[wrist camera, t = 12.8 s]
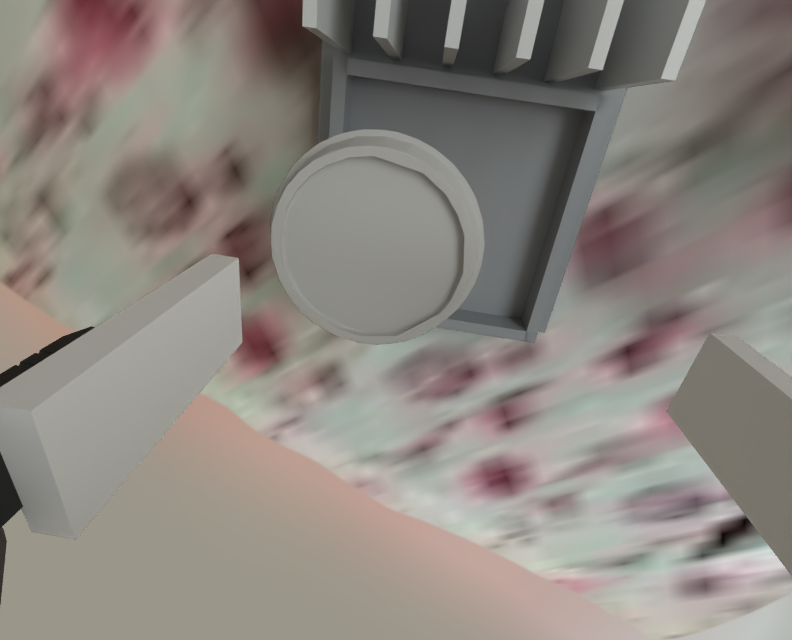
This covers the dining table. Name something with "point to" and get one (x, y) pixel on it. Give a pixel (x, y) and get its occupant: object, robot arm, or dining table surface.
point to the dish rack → (501, 115)
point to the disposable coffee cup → (376, 236)
